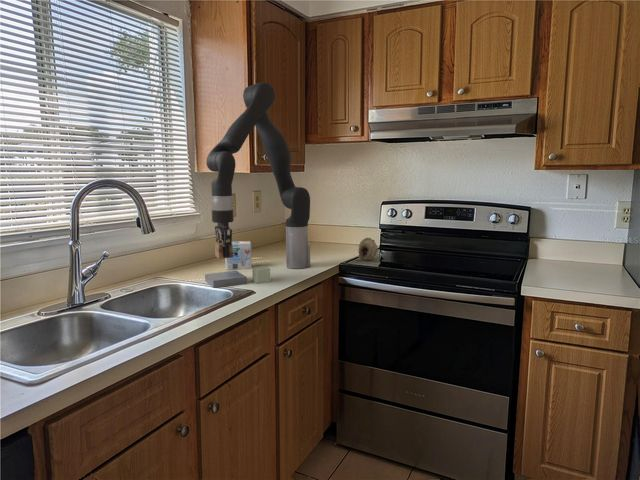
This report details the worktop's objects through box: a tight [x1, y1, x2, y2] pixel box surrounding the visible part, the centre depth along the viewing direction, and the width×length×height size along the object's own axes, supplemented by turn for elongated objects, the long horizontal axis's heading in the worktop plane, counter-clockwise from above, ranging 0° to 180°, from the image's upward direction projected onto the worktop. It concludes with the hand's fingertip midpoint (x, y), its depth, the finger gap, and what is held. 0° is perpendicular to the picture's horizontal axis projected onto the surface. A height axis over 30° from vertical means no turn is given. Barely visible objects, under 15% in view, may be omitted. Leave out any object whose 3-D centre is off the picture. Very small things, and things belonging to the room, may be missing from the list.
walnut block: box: [214, 242, 233, 260], centre depth 162 cm, size 5×5×5 cm
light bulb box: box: [224, 240, 252, 271], centre depth 188 cm, size 11×7×11 cm, turn 105°
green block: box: [251, 265, 271, 284], centre depth 165 cm, size 5×5×5 cm
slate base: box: [204, 270, 248, 289], centre depth 164 cm, size 12×12×2 cm
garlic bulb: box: [357, 237, 378, 261], centre depth 203 cm, size 9×8×10 cm
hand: (224, 255), depth 163 cm, fingers closed on walnut block, 5 cm apart
